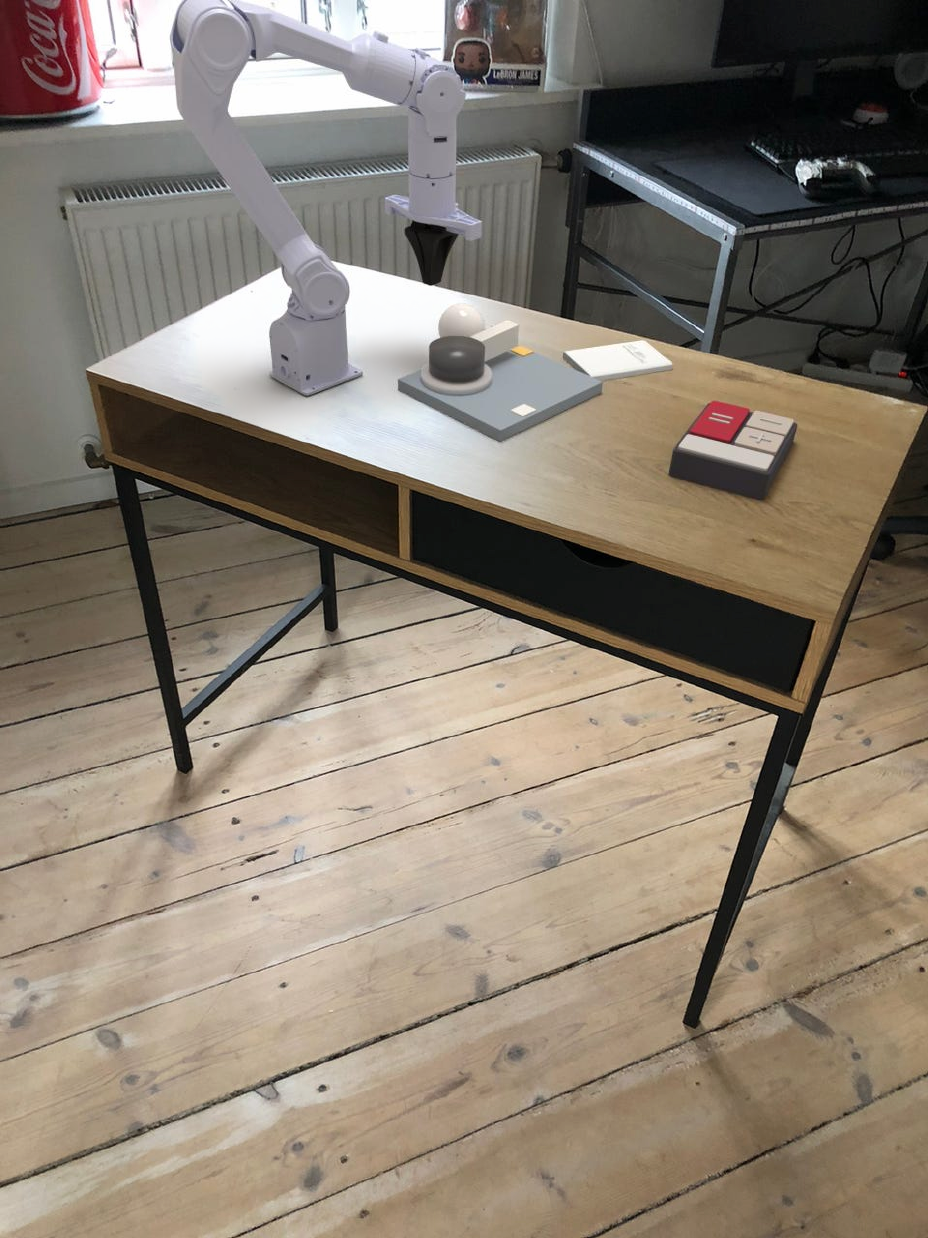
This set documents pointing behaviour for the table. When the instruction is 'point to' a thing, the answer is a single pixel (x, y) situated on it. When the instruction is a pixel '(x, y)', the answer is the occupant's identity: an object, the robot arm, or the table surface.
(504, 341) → the cap
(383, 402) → the table surface
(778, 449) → the calculator
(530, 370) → the base
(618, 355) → the external hard drive
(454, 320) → the lightbulb
